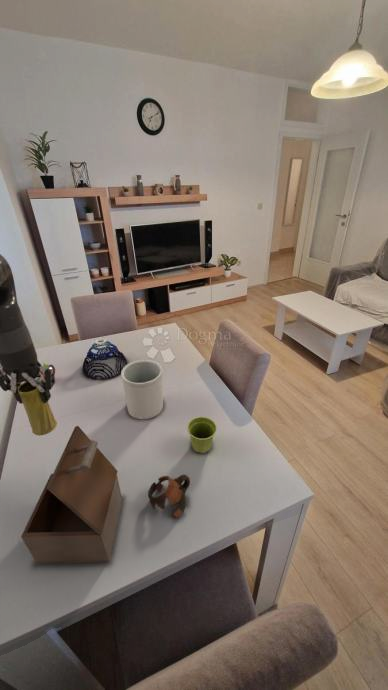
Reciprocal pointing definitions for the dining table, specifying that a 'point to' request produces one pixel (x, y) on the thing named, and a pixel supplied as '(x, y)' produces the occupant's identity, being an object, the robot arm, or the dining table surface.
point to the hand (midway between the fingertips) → (34, 400)
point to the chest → (69, 531)
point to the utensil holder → (143, 388)
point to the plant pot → (201, 433)
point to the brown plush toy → (170, 493)
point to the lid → (84, 480)
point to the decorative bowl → (100, 355)
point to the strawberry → (47, 366)
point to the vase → (36, 409)
